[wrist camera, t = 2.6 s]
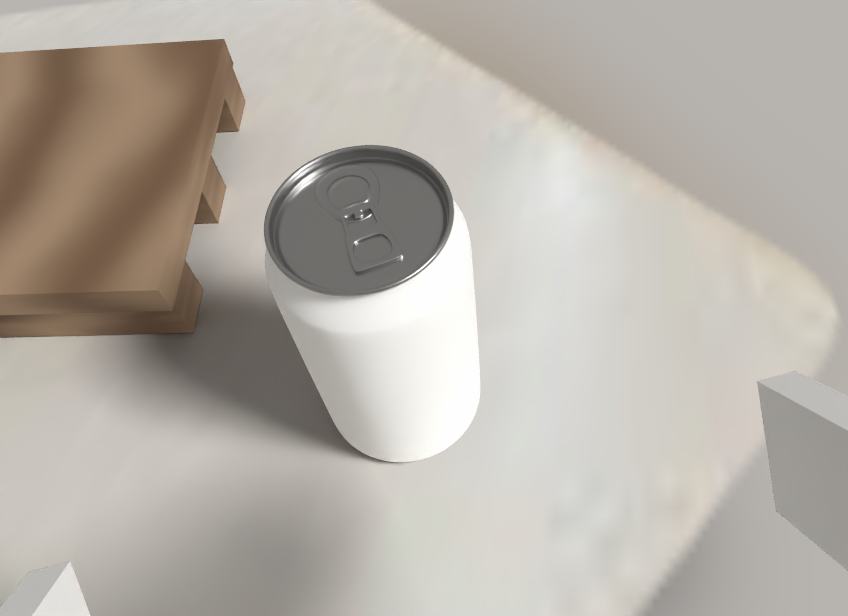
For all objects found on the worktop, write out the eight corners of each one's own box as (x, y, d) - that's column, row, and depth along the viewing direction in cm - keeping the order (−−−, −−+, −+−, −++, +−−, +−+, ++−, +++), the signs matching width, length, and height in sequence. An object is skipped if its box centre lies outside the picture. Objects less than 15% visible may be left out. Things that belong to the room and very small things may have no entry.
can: (447, 309, 34) (422, 109, 24) (505, 432, 31) (505, 258, 20) (312, 359, 33) (228, 175, 23) (356, 490, 30) (279, 341, 20)
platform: (-168, 346, 36) (-238, 302, 33) (-47, 113, 45) (-93, 58, 41) (192, 338, 34) (158, 290, 31) (246, 97, 43) (223, 38, 40)
